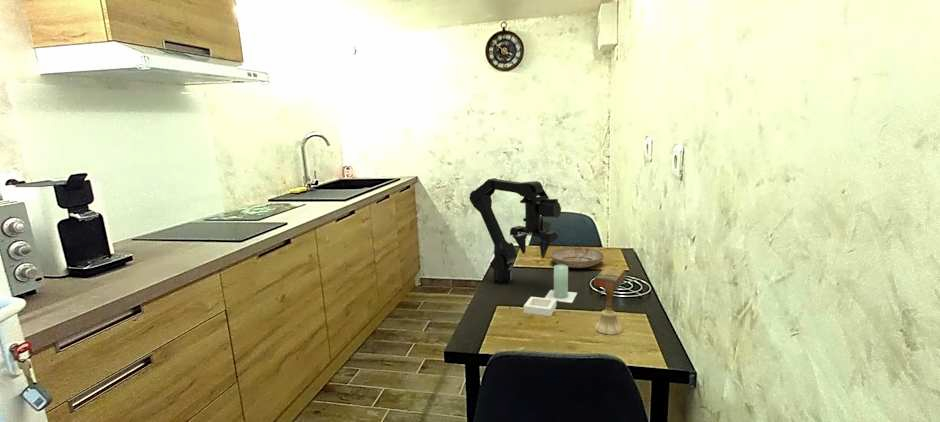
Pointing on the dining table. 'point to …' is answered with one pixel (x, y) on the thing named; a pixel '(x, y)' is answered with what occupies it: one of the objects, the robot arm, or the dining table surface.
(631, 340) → the dining table surface
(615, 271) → the carton
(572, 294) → the cream panel
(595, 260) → the ceramic bowl
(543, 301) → the shallow square tray
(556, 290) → the light green piece
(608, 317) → the hand bell
